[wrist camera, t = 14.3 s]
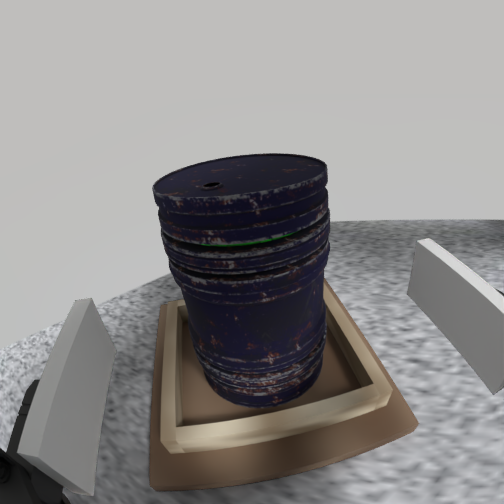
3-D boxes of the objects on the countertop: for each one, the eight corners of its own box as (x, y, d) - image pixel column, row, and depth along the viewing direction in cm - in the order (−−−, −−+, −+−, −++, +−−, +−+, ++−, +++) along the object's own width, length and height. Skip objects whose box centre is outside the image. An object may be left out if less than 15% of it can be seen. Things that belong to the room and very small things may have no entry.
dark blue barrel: (236, 310, 29) (211, 155, 22) (336, 330, 25) (342, 154, 18) (179, 385, 21) (113, 199, 14) (301, 425, 17) (299, 203, 10)
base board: (322, 284, 33) (323, 259, 32) (413, 431, 16) (428, 408, 14) (163, 313, 32) (155, 289, 30) (156, 491, 14) (136, 475, 13)
